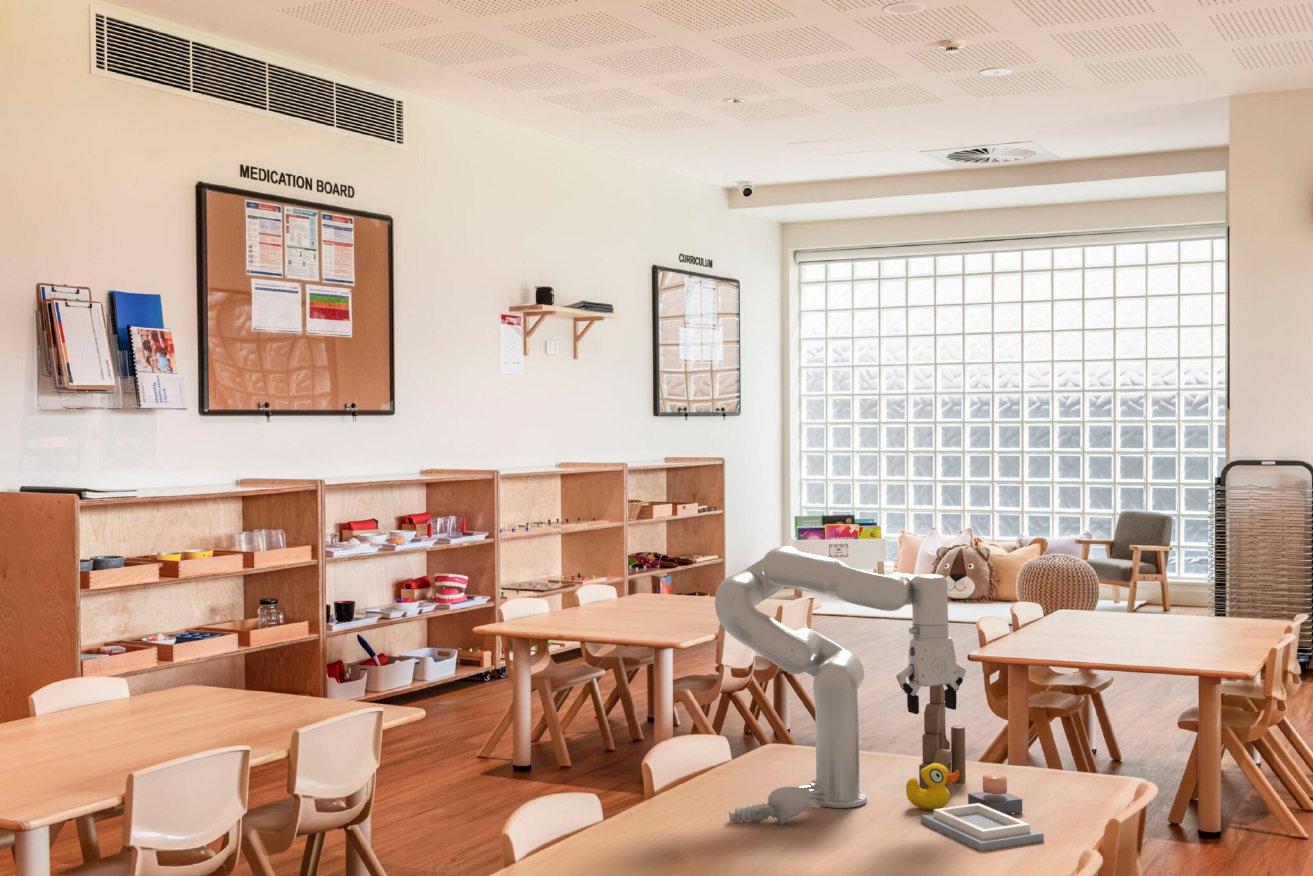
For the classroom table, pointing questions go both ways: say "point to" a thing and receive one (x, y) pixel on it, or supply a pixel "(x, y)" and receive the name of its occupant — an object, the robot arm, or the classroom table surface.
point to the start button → (994, 784)
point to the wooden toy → (941, 739)
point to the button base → (997, 802)
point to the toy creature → (777, 806)
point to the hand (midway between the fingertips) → (932, 710)
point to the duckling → (931, 787)
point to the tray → (981, 826)
